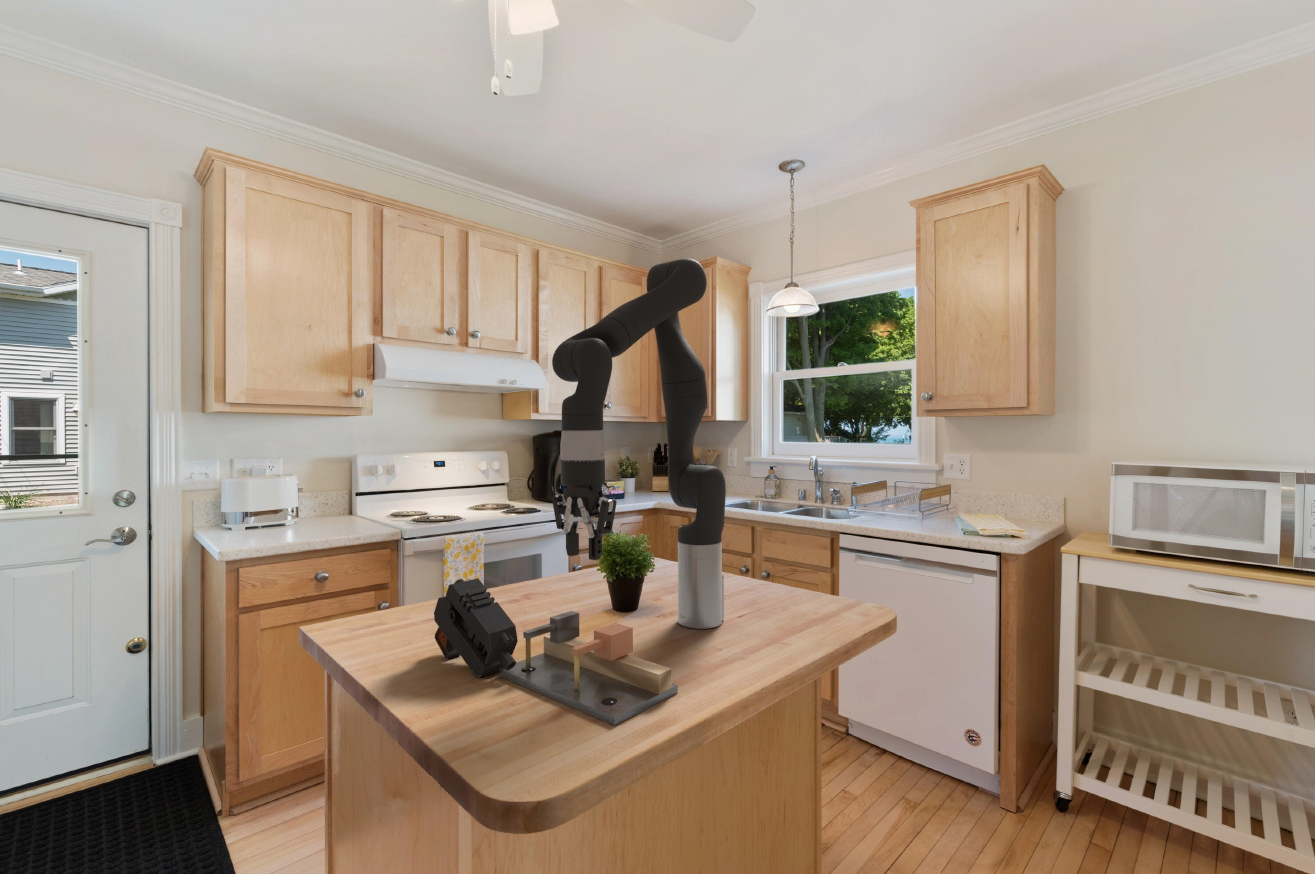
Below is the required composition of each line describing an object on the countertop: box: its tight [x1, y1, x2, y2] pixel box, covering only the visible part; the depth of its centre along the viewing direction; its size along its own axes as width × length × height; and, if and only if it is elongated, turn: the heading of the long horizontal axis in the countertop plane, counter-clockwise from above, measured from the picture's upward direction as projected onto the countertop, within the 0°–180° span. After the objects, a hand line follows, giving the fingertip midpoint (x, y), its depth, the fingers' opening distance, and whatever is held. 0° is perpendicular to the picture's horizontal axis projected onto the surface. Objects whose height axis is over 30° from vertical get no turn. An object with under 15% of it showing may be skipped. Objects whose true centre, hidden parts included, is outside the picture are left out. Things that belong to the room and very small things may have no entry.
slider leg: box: [572, 622, 634, 688], centre depth 99 cm, size 11×4×7 cm, turn 139°
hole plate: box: [498, 652, 679, 727], centre depth 100 cm, size 14×27×1 cm, turn 49°
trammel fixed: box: [522, 610, 673, 694], centre depth 101 cm, size 11×27×7 cm, turn 49°
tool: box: [433, 578, 519, 678], centre depth 108 cm, size 6×19×15 cm, turn 51°
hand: (583, 556), depth 106 cm, fingers open, 5 cm apart
